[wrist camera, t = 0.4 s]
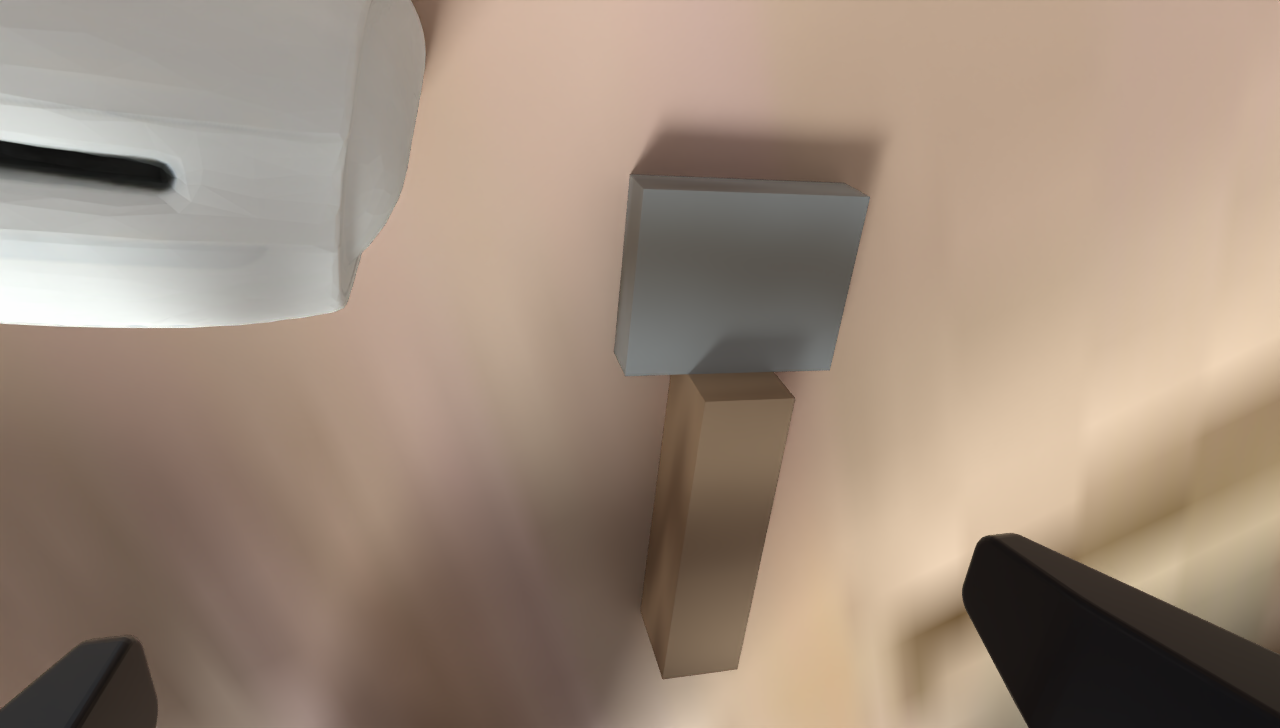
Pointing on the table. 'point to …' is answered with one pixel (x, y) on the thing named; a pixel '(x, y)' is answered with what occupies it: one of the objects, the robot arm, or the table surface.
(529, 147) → the table surface
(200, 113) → the photo printer
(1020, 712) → the robot arm
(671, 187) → the turner
